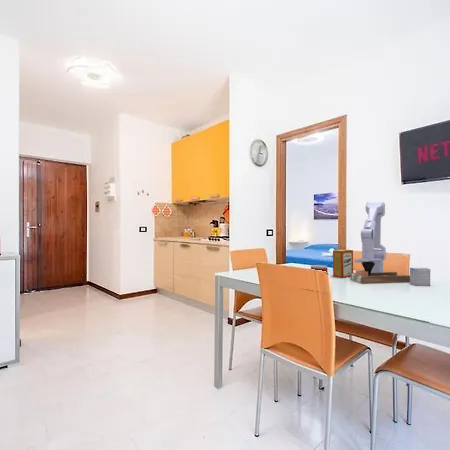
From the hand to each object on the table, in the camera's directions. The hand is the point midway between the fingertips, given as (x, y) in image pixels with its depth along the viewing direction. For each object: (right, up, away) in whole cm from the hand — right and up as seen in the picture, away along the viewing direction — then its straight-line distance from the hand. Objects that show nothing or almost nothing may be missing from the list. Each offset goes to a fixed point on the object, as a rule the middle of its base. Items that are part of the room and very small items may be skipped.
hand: (368, 275), depth 168 cm
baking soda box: (-8, -3, +14) cm, 17 cm away
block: (-4, -1, 0) cm, 4 cm away
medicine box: (+21, -3, -11) cm, 24 cm away
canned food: (-32, -4, -16) cm, 35 cm away
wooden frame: (+7, -3, +1) cm, 7 cm away
